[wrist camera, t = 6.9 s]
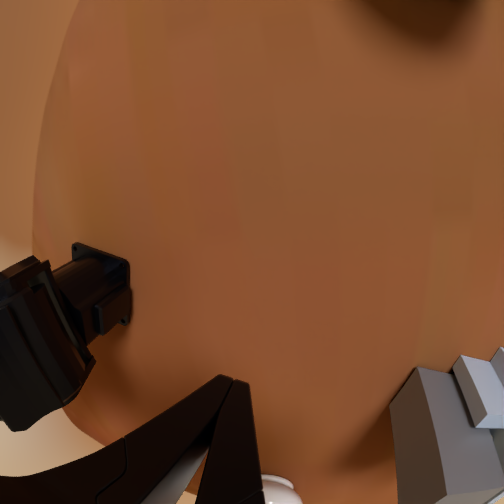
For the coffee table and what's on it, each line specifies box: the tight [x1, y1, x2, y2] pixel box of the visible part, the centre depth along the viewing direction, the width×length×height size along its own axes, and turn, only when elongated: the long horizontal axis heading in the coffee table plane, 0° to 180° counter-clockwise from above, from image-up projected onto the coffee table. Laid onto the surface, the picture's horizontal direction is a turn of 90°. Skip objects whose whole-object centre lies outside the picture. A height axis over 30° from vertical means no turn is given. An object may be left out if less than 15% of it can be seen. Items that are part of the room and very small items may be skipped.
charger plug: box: [389, 367, 504, 504], centre depth 15 cm, size 8×5×12 cm, turn 75°
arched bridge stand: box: [452, 347, 504, 504], centre depth 15 cm, size 5×12×12 cm, turn 165°
